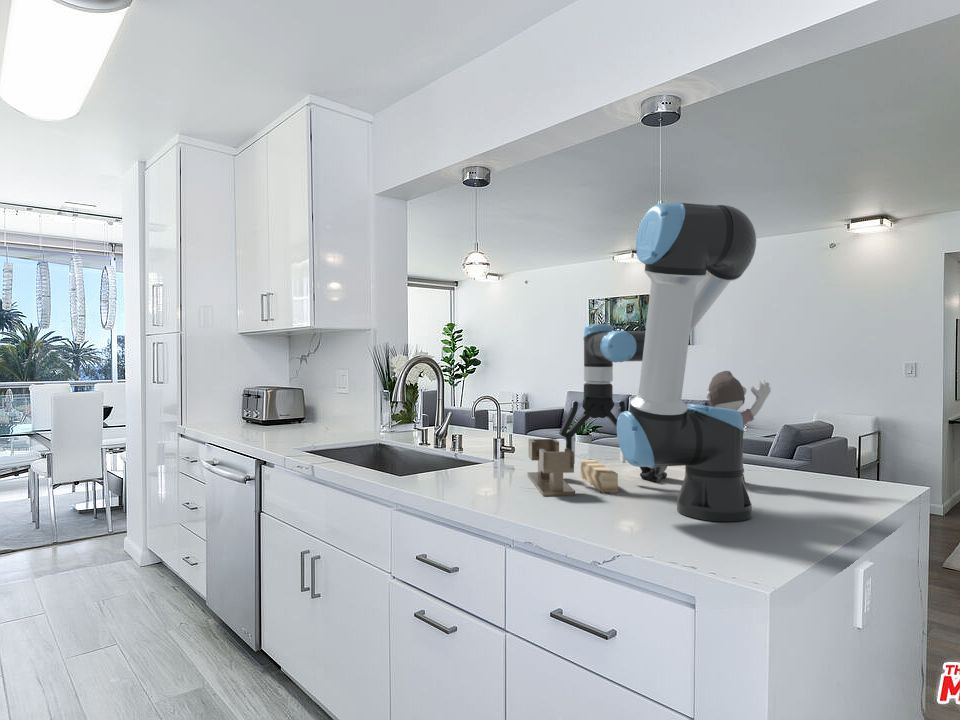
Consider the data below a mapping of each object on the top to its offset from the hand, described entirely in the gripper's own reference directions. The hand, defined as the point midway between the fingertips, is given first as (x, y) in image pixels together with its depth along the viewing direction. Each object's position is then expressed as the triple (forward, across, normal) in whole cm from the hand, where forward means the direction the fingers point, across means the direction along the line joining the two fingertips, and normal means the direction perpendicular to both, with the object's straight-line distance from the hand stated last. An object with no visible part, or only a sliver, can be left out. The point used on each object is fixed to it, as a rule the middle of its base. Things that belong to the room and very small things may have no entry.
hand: (597, 462), depth 161 cm
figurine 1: (+6, -17, -4) cm, 19 cm away
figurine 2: (+6, -37, +2) cm, 38 cm away
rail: (+6, 0, +1) cm, 6 cm away
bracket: (+6, +13, +1) cm, 14 cm away
